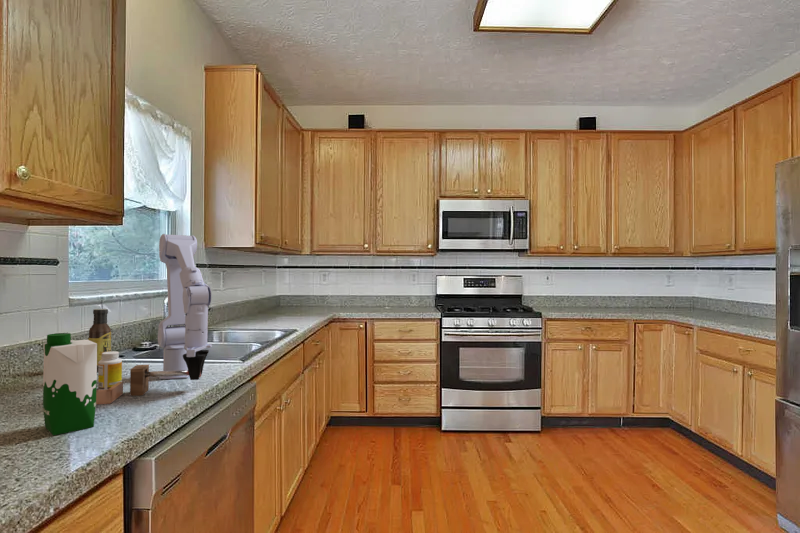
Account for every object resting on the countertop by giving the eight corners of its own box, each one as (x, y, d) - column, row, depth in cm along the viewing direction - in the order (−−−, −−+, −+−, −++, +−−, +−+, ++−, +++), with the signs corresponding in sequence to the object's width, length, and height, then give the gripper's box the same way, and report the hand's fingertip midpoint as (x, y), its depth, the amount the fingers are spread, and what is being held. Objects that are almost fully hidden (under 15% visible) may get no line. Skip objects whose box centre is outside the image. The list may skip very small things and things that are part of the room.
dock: (80, 395, 120) (80, 383, 120) (122, 393, 123) (123, 381, 123) (64, 406, 112) (64, 392, 112) (110, 403, 114) (110, 390, 114)
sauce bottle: (106, 371, 147) (107, 309, 147) (84, 372, 146) (85, 310, 146) (113, 367, 153) (114, 308, 153) (92, 368, 152) (93, 308, 152)
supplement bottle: (125, 386, 130) (126, 350, 130) (115, 392, 124) (115, 354, 124) (104, 386, 129) (105, 350, 129) (93, 392, 124) (94, 354, 124)
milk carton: (38, 427, 97) (40, 333, 97) (88, 417, 104) (90, 329, 104) (48, 438, 91) (49, 337, 91) (100, 426, 98) (102, 333, 98)
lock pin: (136, 378, 125) (136, 369, 125) (201, 375, 128) (201, 367, 128) (133, 380, 122) (133, 371, 122) (199, 377, 126) (199, 368, 126)
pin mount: (136, 390, 126) (136, 364, 126) (148, 390, 127) (148, 364, 127) (130, 396, 121) (130, 369, 121) (142, 395, 122) (142, 368, 122)
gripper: (207, 332, 121) (206, 384, 121) (216, 325, 135) (215, 371, 135) (178, 333, 119) (177, 385, 119) (190, 326, 133) (189, 372, 133)
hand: (195, 378), depth 127 cm, fingers closed on lock pin, 2 cm apart
